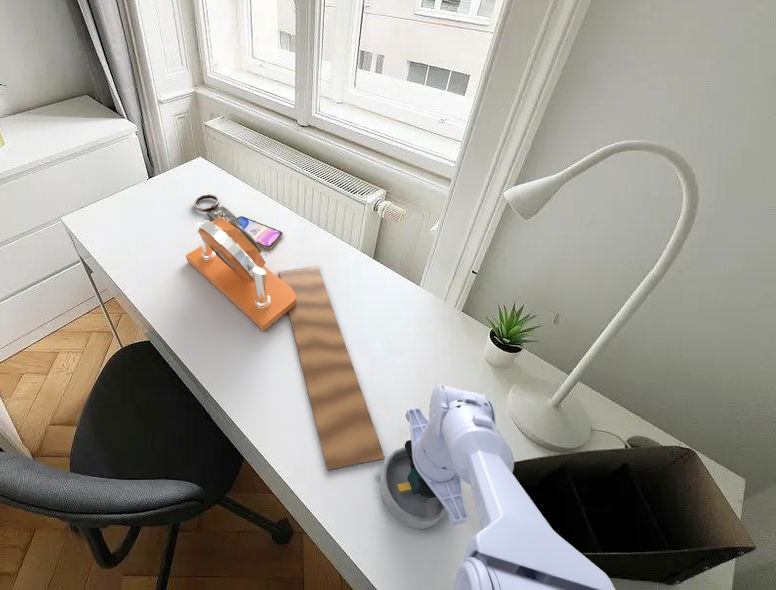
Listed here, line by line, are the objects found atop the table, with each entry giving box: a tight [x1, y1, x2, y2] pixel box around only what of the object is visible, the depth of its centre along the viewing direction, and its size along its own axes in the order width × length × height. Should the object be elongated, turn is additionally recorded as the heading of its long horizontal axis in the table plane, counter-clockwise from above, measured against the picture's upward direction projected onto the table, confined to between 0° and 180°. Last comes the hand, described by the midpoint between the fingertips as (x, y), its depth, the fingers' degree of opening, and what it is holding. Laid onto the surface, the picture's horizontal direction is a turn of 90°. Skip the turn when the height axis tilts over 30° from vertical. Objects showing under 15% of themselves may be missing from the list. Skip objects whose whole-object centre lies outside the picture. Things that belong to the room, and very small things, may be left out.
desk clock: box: [185, 217, 296, 332], centre depth 94 cm, size 12×30×20 cm, turn 43°
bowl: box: [379, 446, 447, 530], centre depth 64 cm, size 10×10×4 cm
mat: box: [278, 266, 385, 471], centre depth 85 cm, size 45×10×1 cm, turn 10°
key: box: [397, 468, 422, 495], centre depth 62 cm, size 6×2×4 cm, turn 100°
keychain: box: [193, 193, 242, 226], centre depth 120 cm, size 8×19×2 cm, turn 36°
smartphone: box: [236, 215, 284, 250], centre depth 113 cm, size 8×15×1 cm, turn 58°
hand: (422, 482), depth 63 cm, fingers closed on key, 2 cm apart
